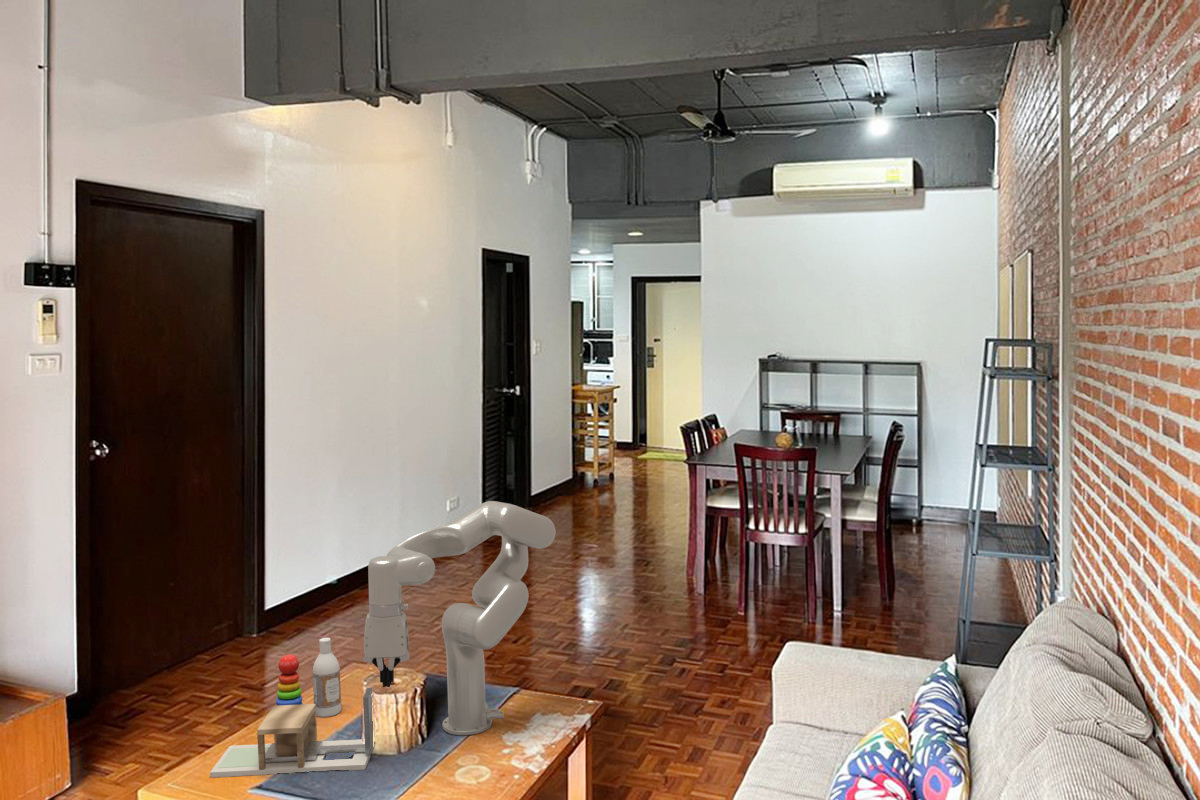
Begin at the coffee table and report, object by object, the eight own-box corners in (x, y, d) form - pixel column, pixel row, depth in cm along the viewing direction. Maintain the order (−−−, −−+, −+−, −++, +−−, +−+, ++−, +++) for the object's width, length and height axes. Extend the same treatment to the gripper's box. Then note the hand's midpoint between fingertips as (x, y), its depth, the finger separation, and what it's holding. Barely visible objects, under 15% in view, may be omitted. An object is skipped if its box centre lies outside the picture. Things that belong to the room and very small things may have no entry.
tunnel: (317, 741, 230) (315, 703, 230) (303, 767, 216) (301, 727, 216) (275, 743, 230) (274, 705, 229) (259, 769, 216) (257, 729, 215)
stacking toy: (287, 735, 237) (284, 662, 236) (266, 728, 241) (263, 657, 240) (312, 723, 244) (309, 653, 243) (291, 717, 248) (288, 648, 247)
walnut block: (309, 743, 226) (307, 719, 226) (302, 754, 220) (301, 729, 220) (283, 744, 226) (282, 720, 225) (276, 755, 220) (275, 730, 219)
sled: (375, 742, 228) (373, 686, 227) (369, 757, 220) (367, 698, 219) (272, 747, 227) (269, 690, 226) (262, 762, 219) (259, 703, 218)
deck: (375, 743, 231) (375, 738, 231) (365, 769, 217) (364, 764, 217) (229, 750, 229) (229, 745, 229) (210, 777, 215) (209, 772, 215)
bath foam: (322, 719, 246) (319, 645, 245) (309, 712, 251) (306, 639, 250) (346, 712, 251) (343, 638, 250) (333, 705, 256) (330, 633, 255)
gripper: (419, 604, 226) (420, 678, 227) (356, 605, 225) (358, 680, 226) (415, 612, 219) (416, 690, 220) (350, 614, 218) (352, 692, 219)
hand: (387, 685), depth 223 cm, fingers closed
